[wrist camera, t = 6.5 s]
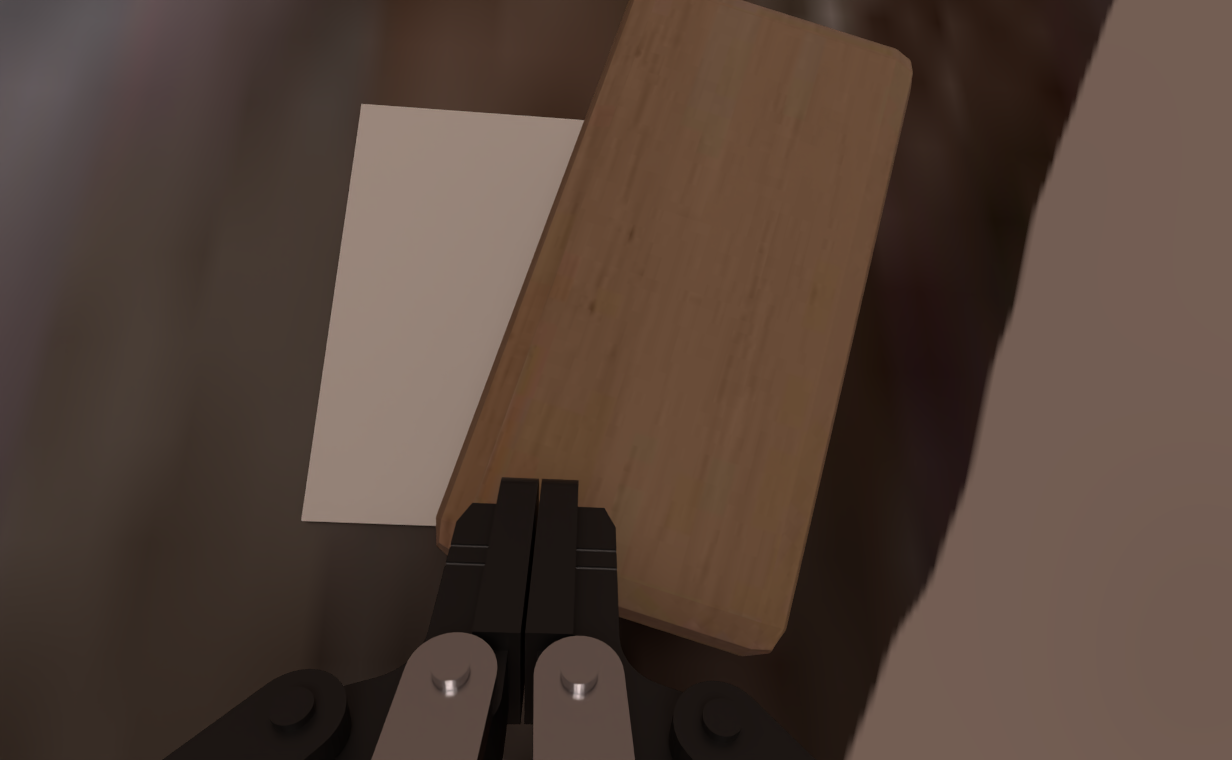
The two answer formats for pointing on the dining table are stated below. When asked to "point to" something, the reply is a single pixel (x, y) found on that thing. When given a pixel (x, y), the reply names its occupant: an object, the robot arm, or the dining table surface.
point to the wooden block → (698, 307)
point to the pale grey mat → (424, 299)
